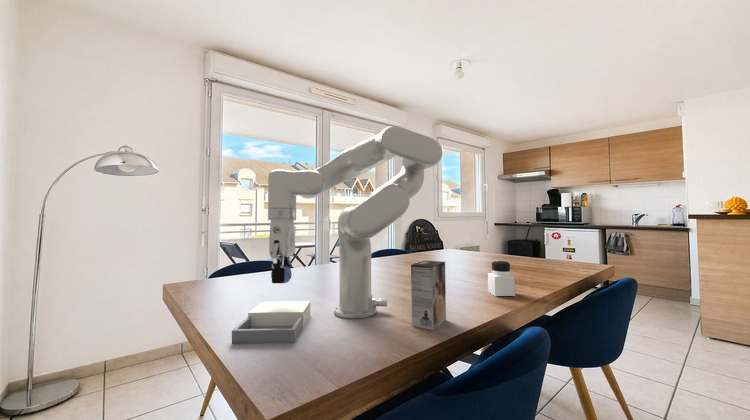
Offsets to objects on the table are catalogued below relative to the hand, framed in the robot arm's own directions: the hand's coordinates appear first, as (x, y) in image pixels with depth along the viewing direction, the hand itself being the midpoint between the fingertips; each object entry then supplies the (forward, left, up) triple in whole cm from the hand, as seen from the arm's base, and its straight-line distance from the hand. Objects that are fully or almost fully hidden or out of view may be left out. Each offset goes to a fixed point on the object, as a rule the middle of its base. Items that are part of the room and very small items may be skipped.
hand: (281, 279), depth 84 cm
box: (0, +11, -11) cm, 15 cm away
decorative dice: (0, 0, -1) cm, 1 cm away
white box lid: (0, +1, -11) cm, 11 cm away
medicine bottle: (-72, -24, -11) cm, 77 cm away
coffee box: (-40, +4, -11) cm, 42 cm away
